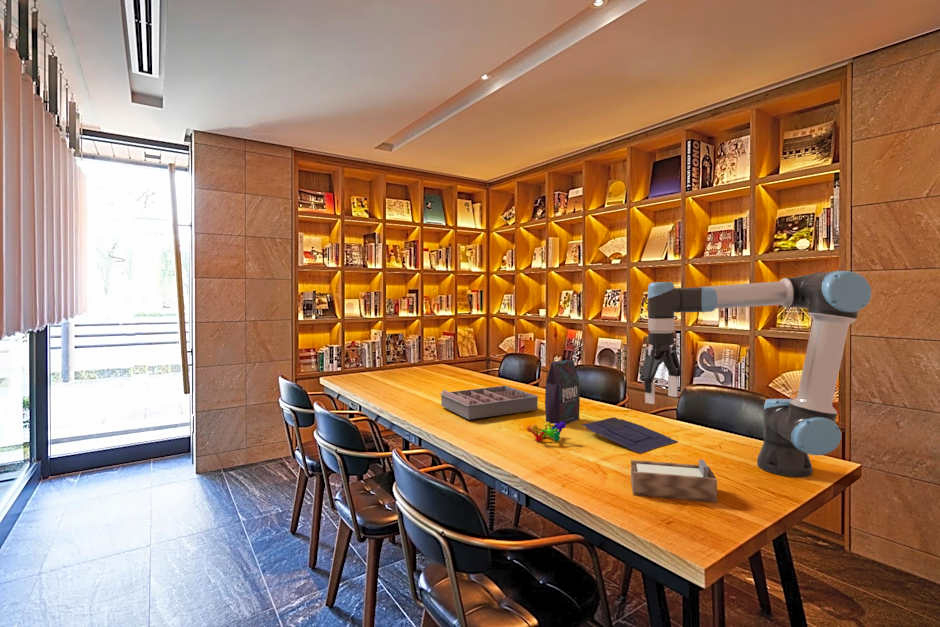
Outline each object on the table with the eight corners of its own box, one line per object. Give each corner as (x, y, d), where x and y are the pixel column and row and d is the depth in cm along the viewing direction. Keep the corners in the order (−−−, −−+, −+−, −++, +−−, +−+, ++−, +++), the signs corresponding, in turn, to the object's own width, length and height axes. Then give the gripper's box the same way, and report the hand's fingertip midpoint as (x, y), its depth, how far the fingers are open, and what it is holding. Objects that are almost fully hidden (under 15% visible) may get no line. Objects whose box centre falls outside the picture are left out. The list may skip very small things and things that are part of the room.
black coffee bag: (580, 420, 220) (580, 359, 219) (559, 427, 209) (558, 363, 208) (565, 416, 226) (565, 358, 225) (544, 423, 215) (543, 361, 214)
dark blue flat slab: (616, 422, 211) (617, 414, 211) (677, 448, 187) (679, 439, 186) (577, 431, 198) (578, 423, 197) (638, 460, 173) (639, 451, 173)
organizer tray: (539, 412, 236) (539, 392, 236) (467, 423, 218) (467, 401, 217) (505, 399, 264) (505, 382, 264) (439, 408, 246) (439, 389, 246)
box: (708, 487, 143) (708, 465, 143) (716, 502, 132) (717, 479, 132) (630, 480, 149) (631, 459, 149) (633, 494, 138) (633, 472, 138)
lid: (704, 471, 142) (704, 458, 142) (709, 481, 134) (710, 468, 134) (636, 466, 147) (636, 453, 147) (638, 475, 139) (638, 462, 139)
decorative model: (525, 425, 197) (560, 415, 197) (531, 447, 195) (566, 437, 195) (527, 426, 185) (564, 415, 185) (533, 449, 183) (571, 438, 183)
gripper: (670, 328, 159) (670, 392, 160) (627, 334, 143) (628, 404, 144) (692, 329, 153) (693, 395, 154) (650, 335, 137) (651, 408, 138)
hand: (661, 399), depth 149 cm, fingers open, 13 cm apart
